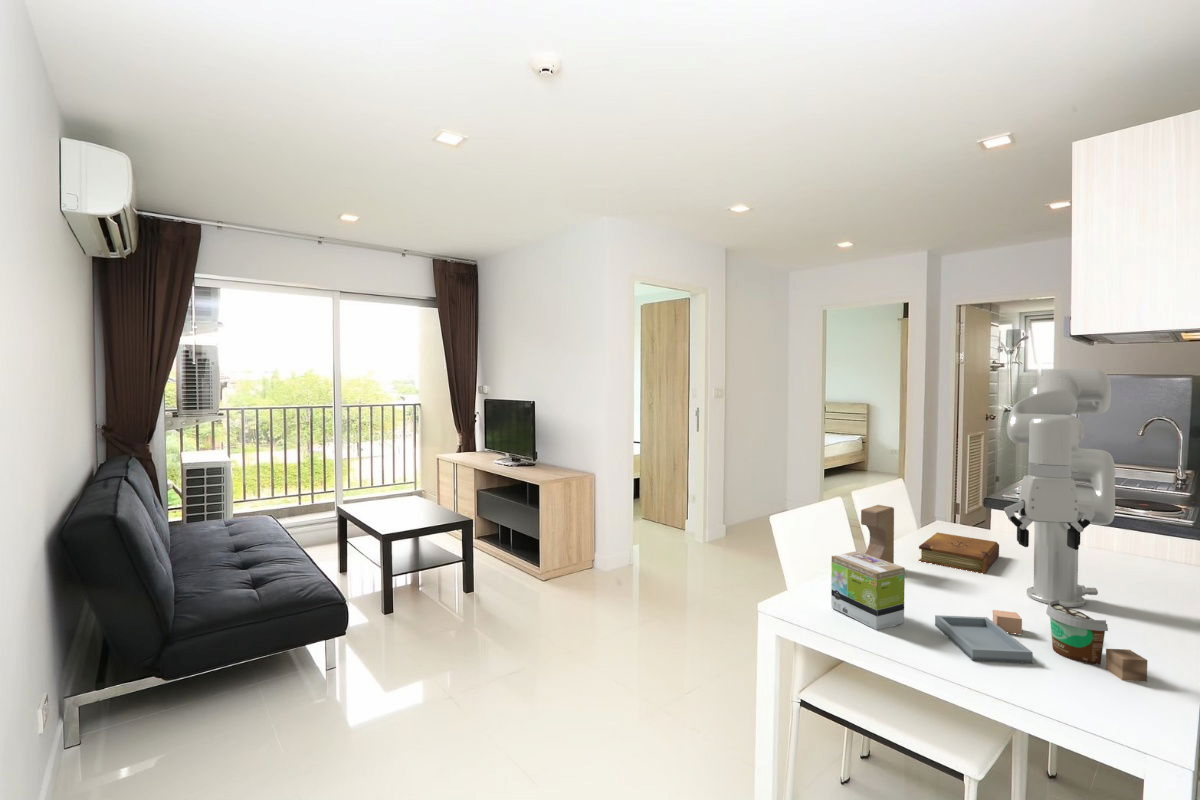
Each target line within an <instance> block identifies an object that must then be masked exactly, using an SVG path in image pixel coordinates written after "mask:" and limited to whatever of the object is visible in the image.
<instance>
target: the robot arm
mask: <svg viewBox="0 0 1200 800" xmlns="http://www.w3.org/2000/svg"><path fill="white" fill-rule="evenodd" d="M1111 401H1112V384H1111V380H1110V376H1109V375H1108V374H1107V373H1106V372H1105V371H1104V370H1101V369H1099V368H1058V369H1053V370H1049V371H1046V372H1045V373H1044V374H1042V375H1041V376H1040V378H1039V380H1038V383H1037V384H1036V385H1035V386H1033V387H1031V389H1030V390H1029V394H1028V397H1026V398H1023V399H1021V400H1019V401H1018V402H1016V403H1015V404H1014V405H1013V406H1012V408H1011V409H1010V413H1009V416H1008V421H1007V425H1006V433H1007V436H1008V439H1009V440H1010V442H1012V443H1014V444H1017V445H1025V446H1028V469H1027V470H1028V472H1027V473H1028V474H1027V475H1023V478H1022V482H1021V487H1020V490H1019V497H1018V502H1016V503H1012V504H1010V505H1008V506H1005V507H1004V508H1003V511H1004V513H1005V515H1006V516H1007V519H1008V520H1009V521H1010V522H1011V523H1012V524H1013V525H1014V526H1015V527H1016V541H1017V542H1018V545H1021V546H1022V547H1024V548H1028V547H1029V544H1030V542H1029V541H1030V532H1029V529H1027V528H1028V527H1029V526H1030V525H1031V524H1032V523H1033V524H1034V526H1033V527H1034V529H1033V530H1034V539H1033V540H1034V542H1033V543H1034V544H1033V545H1034V547H1033V548H1034V551H1033V552H1034V553H1033V586H1030V587H1028V588H1026V595H1028V597H1030V598H1031V599H1033V600H1035V601H1038V602H1040V603H1044V604H1046V605H1049V603H1050V602H1051V601H1054V600H1059V604H1060V605H1062V606H1065V607H1067V608H1080V607H1084V605H1085V604H1086V599H1085V598H1084V597H1085V596H1086V595H1089V596H1097V595H1098V594H1099V591H1098V589H1097V587H1086V586H1085V585H1084V584H1082V585H1081V584H1078V583H1079V582H1078V581H1079V580H1078V579H1079V550H1080V549H1079V547H1080V545H1081V533H1082V532H1084V529H1086V528H1087V527H1088V526H1090V525H1097V526H1107V525H1110V524H1112V522H1114V519H1115V513H1116V466H1115V461H1114V458H1113V456H1112V454H1111V453H1110V452H1108V451H1106V450H1103V449H1099V448H1098V449H1097V448H1083V447H1082V448H1081V447H1079V446H1080V445H1079V443H1080V442H1081V441H1083V439H1084V437H1085V424H1084V423H1083V422H1082V421H1081V420H1080V419H1079V418H1078V417H1077V416H1075V415H1101V414H1104V413H1106V412H1107V411H1108V410H1109V409H1110V406H1111ZM1076 483H1077V484H1087V485H1090V486H1091V487H1092V488H1091V487H1084V486H1083V487H1081V486H1076ZM1017 511H1018V512H1017ZM1015 512H1017V513H1018V515H1019V518H1018V517H1017V516H1016V514H1015Z"/></svg>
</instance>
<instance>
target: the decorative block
mask: <svg viewBox="0 0 1200 800" xmlns="http://www.w3.org/2000/svg"><path fill="white" fill-rule="evenodd" d="M860 524H861V525H862V526H866V528H867V529H868V534H869V543H868V545H867V549H866V551H865V552H864V553H865V554H868V555H870V556H873V557H876V558H879V559H882V560H884V561H887V562H890V563H893V564H895V563H894V562H895V561H894V560H895V559H894V558H895V556H894V555H895V545H894V544H895V508H894V507H893V506H887V505H882V504H876V505H873V506H870V507H866V508H863V509H861V510H860Z"/></svg>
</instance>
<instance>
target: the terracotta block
mask: <svg viewBox="0 0 1200 800" xmlns="http://www.w3.org/2000/svg"><path fill="white" fill-rule="evenodd" d="M992 621H993V622H994V623H995V624H996V625H998V626H999V627H1000V628H1002V629H1003V630H1004V631H1006V632H1008V634H1009V633H1016V634H1015V635H1017V634H1023V618H1022V617H1021V616H1020V614H1019V613H1018V612H1016V611H1015V612H1014V611H1005V610H999V609H992Z"/></svg>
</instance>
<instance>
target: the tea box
mask: <svg viewBox="0 0 1200 800" xmlns="http://www.w3.org/2000/svg"><path fill="white" fill-rule="evenodd" d="M830 567H831V579H830V581H831V584H830V585H831V587H830V589H831V595H830V597H831V600H830V601H831V608H832V609H833V610H836V611H838V612H841V613H842V614H844V615H846V616H848V617H850V618H853V619H854V620H856V621H858V622H860V623H862V624H864V625H865V626H868V627H869V628H871V629H873V630H875V631H879V630H884V629H887V628H891V627H894V626H898V625H902V624H904V622H905V583H906V582H905V578H906V577H905V574H906V573H905V570H906V568H905V567H903V566H901V565H899V564H898V565H897V564H896V563H894V564H893V563H890V562H887V561H884V560H882V559H879V558H876V557H873V556H870V555H868V554H865V552H862V551H859V550H857V551H856V550H855V551H851V552H846V553H841V554H836V555H831V565H830ZM890 626H891V627H890ZM886 627H887V628H886Z"/></svg>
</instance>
